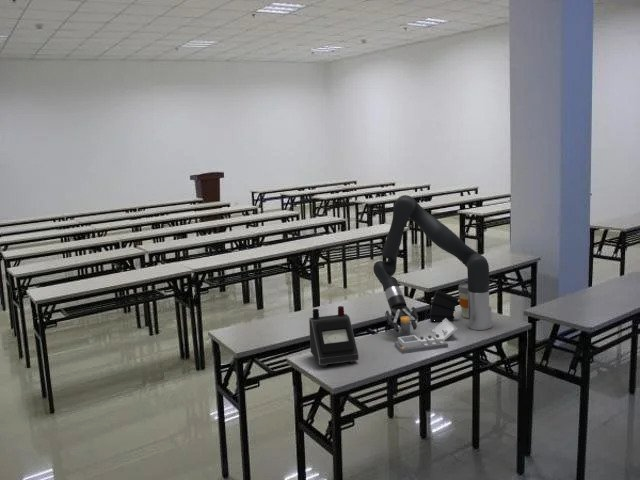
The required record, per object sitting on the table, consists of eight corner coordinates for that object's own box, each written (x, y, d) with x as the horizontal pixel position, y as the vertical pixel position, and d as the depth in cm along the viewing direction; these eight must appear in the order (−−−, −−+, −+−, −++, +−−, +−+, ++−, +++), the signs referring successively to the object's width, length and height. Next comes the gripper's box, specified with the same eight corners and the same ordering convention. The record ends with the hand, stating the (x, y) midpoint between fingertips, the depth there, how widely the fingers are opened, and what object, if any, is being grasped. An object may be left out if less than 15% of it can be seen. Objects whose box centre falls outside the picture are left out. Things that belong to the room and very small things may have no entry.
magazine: (423, 316, 283) (436, 289, 280) (448, 327, 283) (461, 299, 281) (424, 319, 279) (437, 290, 277) (449, 329, 279) (462, 301, 277)
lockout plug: (408, 337, 261) (407, 315, 260) (411, 340, 257) (410, 318, 256) (400, 338, 261) (399, 316, 259) (403, 341, 257) (402, 319, 255)
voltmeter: (319, 368, 231) (317, 319, 228) (310, 355, 247) (308, 309, 244) (359, 363, 235) (357, 315, 232) (347, 350, 250) (345, 305, 248)
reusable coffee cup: (474, 320, 276) (474, 289, 274) (453, 316, 286) (452, 285, 284) (490, 315, 284) (490, 285, 282) (469, 310, 294) (468, 281, 292)
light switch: (461, 333, 253) (451, 323, 267) (454, 326, 252) (444, 316, 266) (446, 346, 253) (437, 336, 268) (440, 339, 252) (430, 329, 267)
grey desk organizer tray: (439, 339, 255) (438, 330, 255) (447, 347, 246) (447, 338, 245) (394, 345, 252) (394, 336, 251) (402, 353, 242) (401, 344, 242)
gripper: (382, 296, 261) (393, 328, 252) (412, 292, 265) (424, 323, 256) (378, 304, 267) (389, 336, 258) (407, 300, 271) (419, 332, 262)
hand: (406, 330), depth 257 cm, fingers open, 7 cm apart
